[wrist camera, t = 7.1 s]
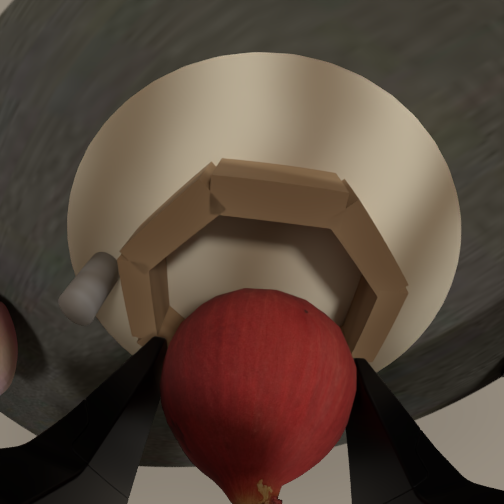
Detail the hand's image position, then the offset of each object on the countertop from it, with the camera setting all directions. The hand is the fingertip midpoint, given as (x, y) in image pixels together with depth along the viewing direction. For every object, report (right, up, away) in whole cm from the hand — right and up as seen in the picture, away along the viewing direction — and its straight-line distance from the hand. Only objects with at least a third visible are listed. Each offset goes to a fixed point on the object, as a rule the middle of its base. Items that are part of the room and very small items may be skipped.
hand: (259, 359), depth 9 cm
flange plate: (0, +3, +4) cm, 5 cm away
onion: (0, +1, +3) cm, 3 cm away
